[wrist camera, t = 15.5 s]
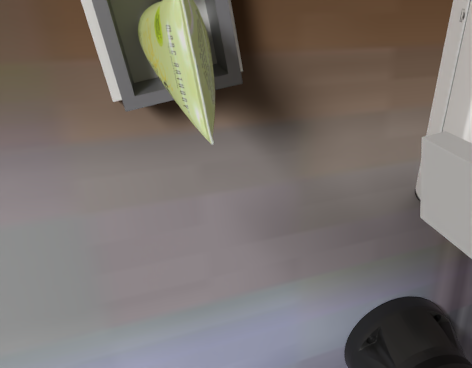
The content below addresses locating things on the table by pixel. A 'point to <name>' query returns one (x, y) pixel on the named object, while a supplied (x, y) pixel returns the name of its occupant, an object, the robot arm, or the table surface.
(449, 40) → the laminator
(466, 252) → the robot arm
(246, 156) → the table surface
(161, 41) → the tube
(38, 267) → the table surface
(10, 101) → the table surface
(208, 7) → the grey and white box
